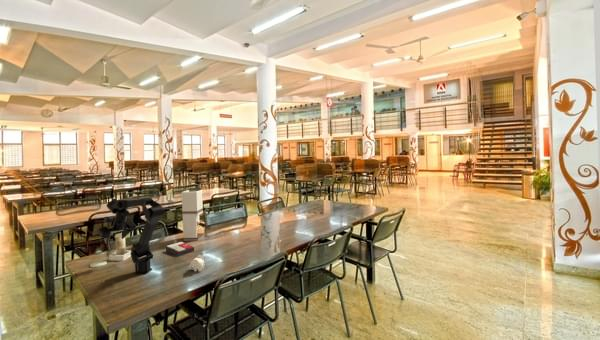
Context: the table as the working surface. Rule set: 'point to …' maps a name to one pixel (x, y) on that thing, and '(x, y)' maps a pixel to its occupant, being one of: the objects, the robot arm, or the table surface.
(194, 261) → the white rounded lump
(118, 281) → the table surface
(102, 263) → the coaster
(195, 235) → the tall white pillar
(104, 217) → the robot arm
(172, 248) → the calculator
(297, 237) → the table surface
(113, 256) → the pocket
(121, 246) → the peg
